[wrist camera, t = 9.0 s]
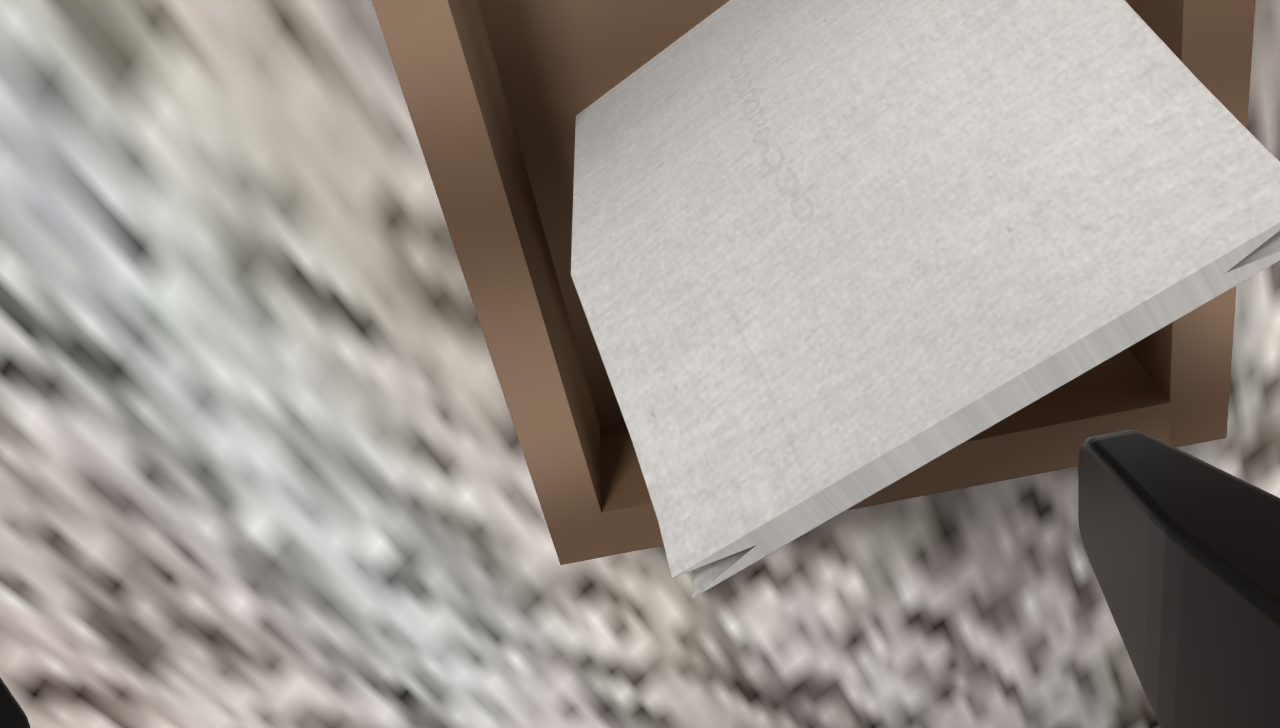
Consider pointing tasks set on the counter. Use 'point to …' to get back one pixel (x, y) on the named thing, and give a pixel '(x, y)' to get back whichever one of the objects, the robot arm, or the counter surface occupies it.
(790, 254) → the tea bag
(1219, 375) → the walnut tray
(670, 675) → the counter surface
